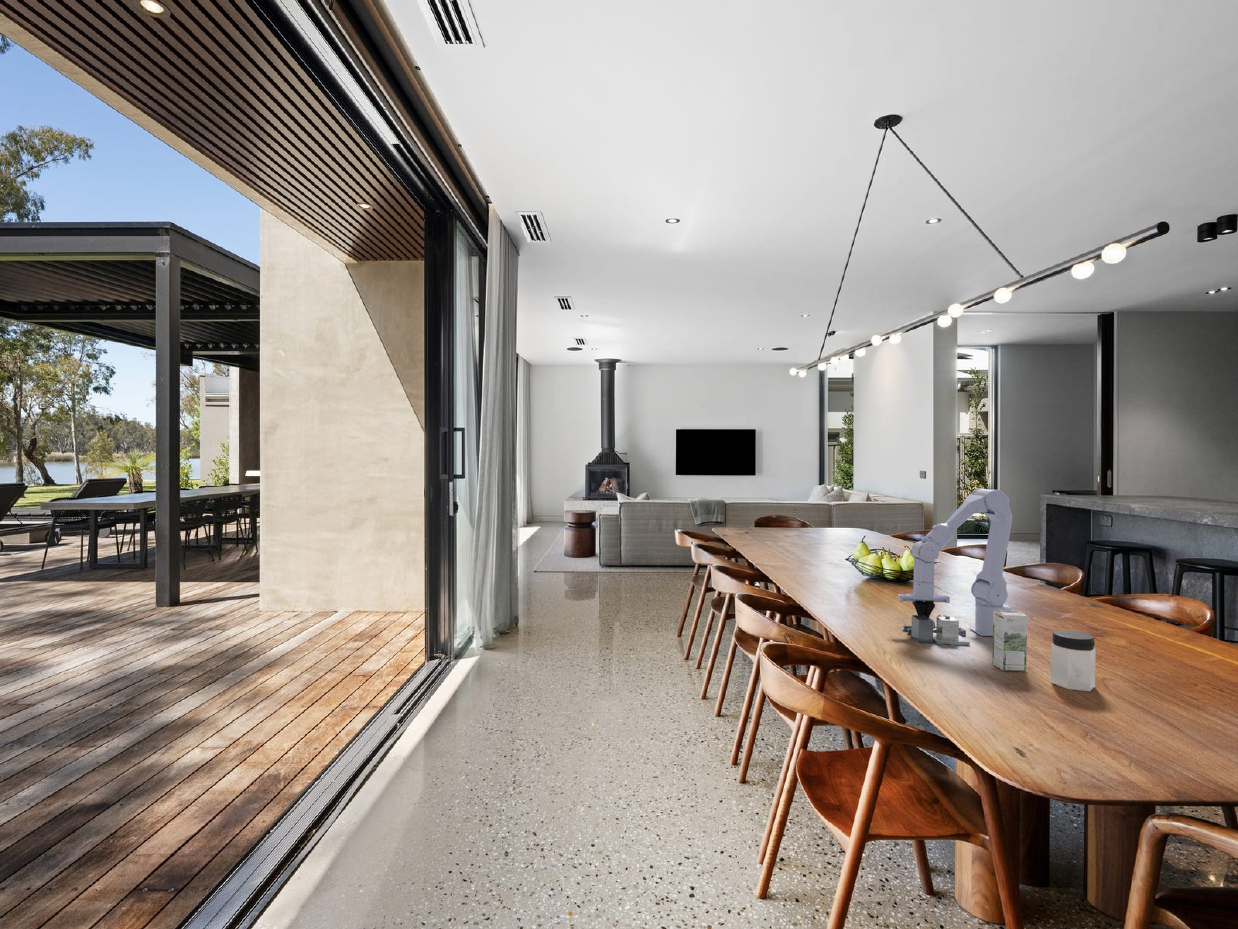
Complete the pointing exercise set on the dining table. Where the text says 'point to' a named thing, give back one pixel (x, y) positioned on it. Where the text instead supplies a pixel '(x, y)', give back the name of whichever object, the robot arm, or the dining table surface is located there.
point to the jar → (1073, 660)
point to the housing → (947, 627)
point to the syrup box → (1009, 640)
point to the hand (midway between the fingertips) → (923, 625)
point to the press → (931, 632)
